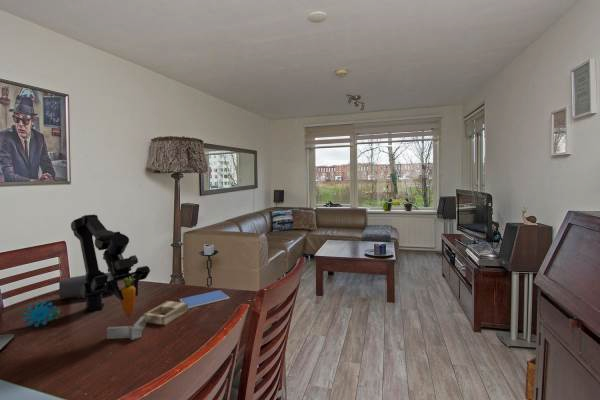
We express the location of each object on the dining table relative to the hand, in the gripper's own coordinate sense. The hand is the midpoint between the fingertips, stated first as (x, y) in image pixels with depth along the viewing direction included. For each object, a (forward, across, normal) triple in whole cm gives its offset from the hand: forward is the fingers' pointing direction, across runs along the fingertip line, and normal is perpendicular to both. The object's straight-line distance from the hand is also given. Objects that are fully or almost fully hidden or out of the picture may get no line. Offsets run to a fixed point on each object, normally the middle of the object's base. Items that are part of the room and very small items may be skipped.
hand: (129, 297), depth 114 cm
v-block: (+10, -1, +8) cm, 13 cm away
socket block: (+7, +15, +11) cm, 20 cm away
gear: (-15, -18, +34) cm, 41 cm away
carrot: (+5, 0, +6) cm, 8 cm away
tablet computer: (+5, +35, +14) cm, 38 cm away
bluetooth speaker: (-28, +5, +47) cm, 55 cm away
